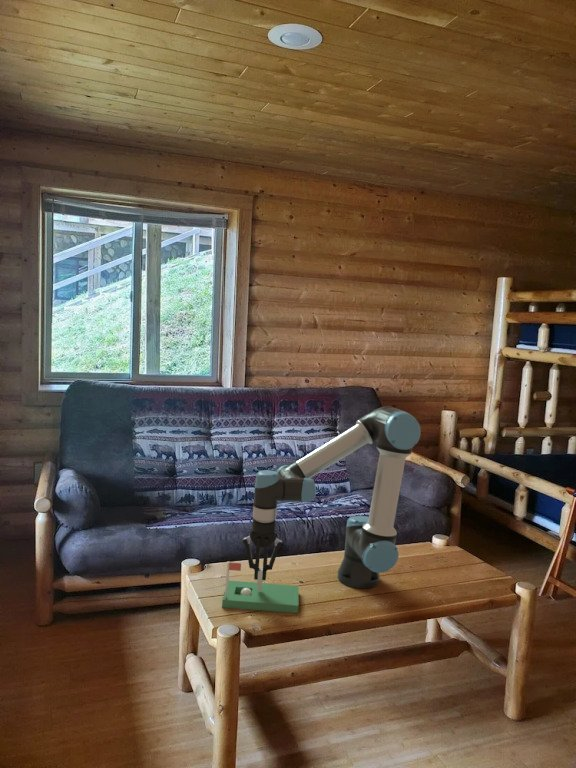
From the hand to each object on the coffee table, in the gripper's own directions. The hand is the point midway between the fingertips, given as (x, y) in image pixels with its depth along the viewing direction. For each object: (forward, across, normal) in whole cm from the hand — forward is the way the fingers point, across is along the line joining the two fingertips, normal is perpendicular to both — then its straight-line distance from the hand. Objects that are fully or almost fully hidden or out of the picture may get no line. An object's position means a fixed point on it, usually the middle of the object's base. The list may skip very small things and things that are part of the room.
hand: (259, 588), depth 192 cm
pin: (+1, +8, +6) cm, 10 cm away
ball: (+2, +4, 0) cm, 5 cm away
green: (+4, -1, 0) cm, 4 cm away
